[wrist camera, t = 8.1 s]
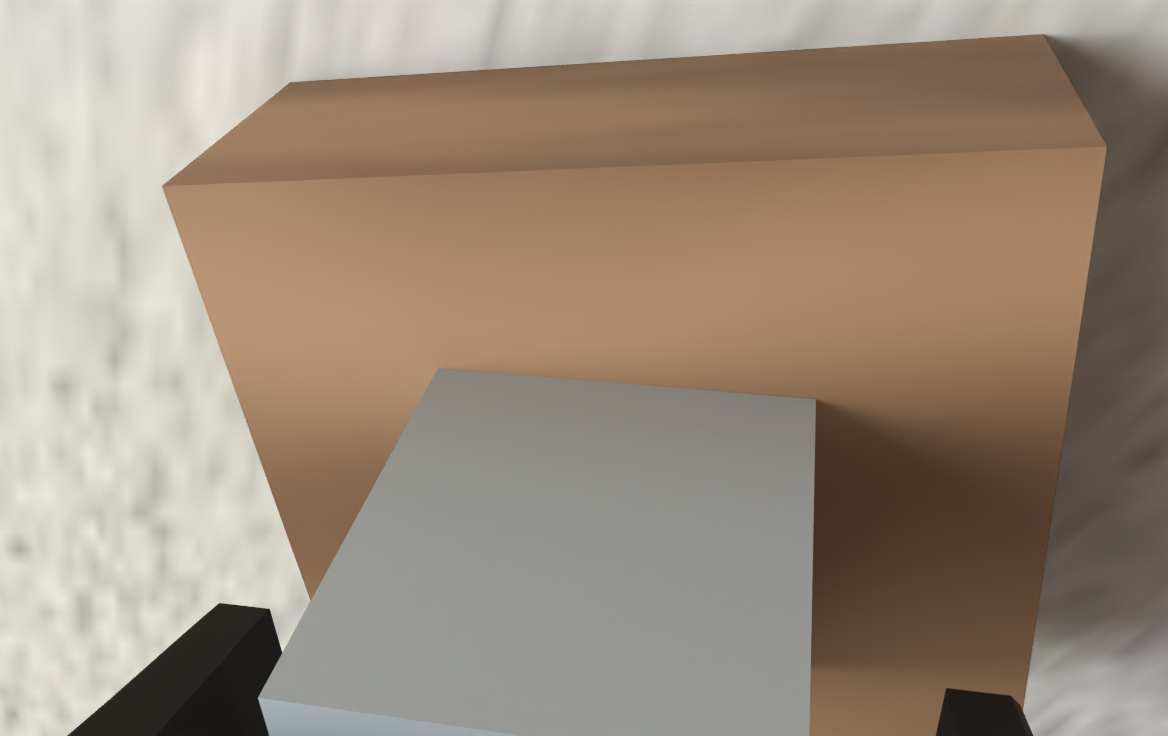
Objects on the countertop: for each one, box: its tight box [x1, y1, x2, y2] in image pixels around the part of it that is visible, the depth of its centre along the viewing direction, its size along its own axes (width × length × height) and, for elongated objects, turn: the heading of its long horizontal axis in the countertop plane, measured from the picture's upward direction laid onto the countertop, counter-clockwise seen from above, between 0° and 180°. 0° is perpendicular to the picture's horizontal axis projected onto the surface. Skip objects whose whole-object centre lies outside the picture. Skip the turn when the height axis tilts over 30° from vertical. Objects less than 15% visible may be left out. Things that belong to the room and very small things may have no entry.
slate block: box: [258, 368, 816, 736], centre depth 12 cm, size 4×4×5 cm
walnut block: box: [162, 34, 1107, 736], centre depth 15 cm, size 10×10×4 cm
